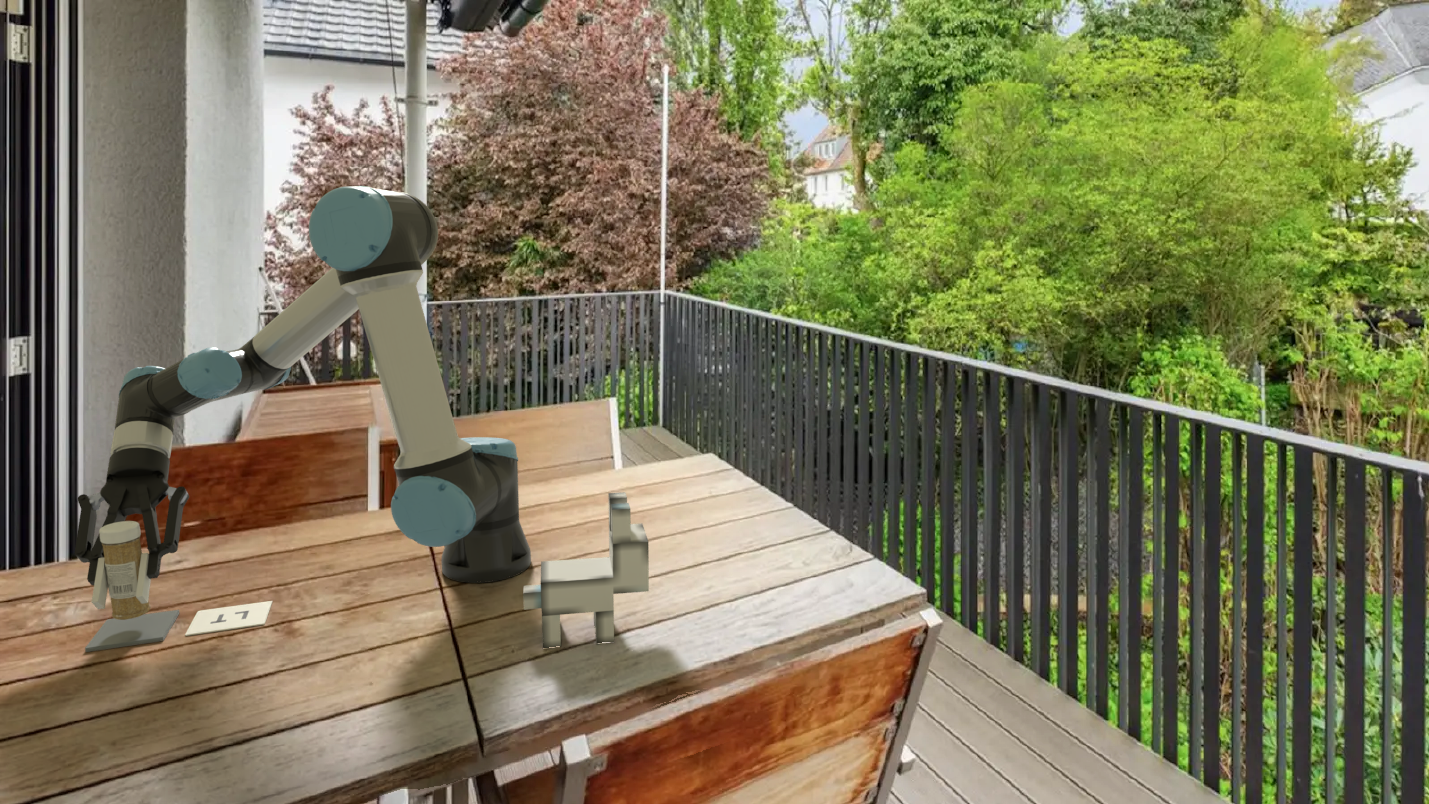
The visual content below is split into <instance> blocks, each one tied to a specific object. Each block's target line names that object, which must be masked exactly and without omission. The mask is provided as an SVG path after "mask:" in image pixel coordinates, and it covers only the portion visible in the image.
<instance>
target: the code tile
mask: <svg viewBox="0 0 1429 804" xmlns="http://www.w3.org/2000/svg"><path fill="white" fill-rule="evenodd" d="M272 604H273V600H269V601H262V602H261V601H260V602H259V601H258V602H254V603H245V604H238V605H237V604H236V605H232V606H224V607H216V608H215V607H214V608H209V609H202V610H197V612H196V614H195V616H194V617H193V619H192V621H191V623H190V625H189V627H187V630H186V632H185V634H184V636H185V637H189V636H196V635H202V634H208V633H215V632H224V631H228V630H230V631H231V630H236V629H241V628H242V629H244V628H249V627H251V628H252V627H257V626H265V624H266V622H267V619H268V616H269V613H270V610H271V607H272Z"/></svg>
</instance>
